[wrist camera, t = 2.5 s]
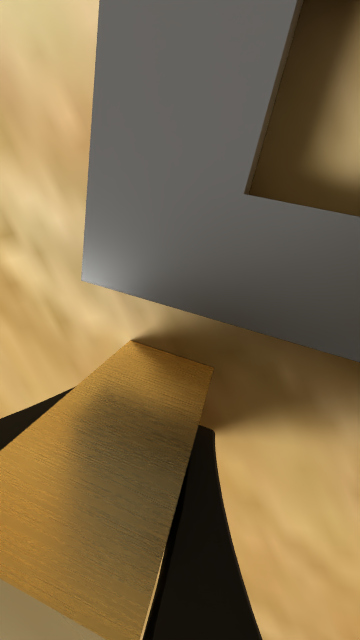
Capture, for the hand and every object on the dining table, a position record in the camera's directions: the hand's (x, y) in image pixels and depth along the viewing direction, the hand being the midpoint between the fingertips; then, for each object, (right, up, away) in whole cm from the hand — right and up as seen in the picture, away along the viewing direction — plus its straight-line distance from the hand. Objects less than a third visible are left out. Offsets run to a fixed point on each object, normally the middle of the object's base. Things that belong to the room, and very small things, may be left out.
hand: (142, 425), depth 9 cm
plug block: (+1, +1, +2) cm, 2 cm away
